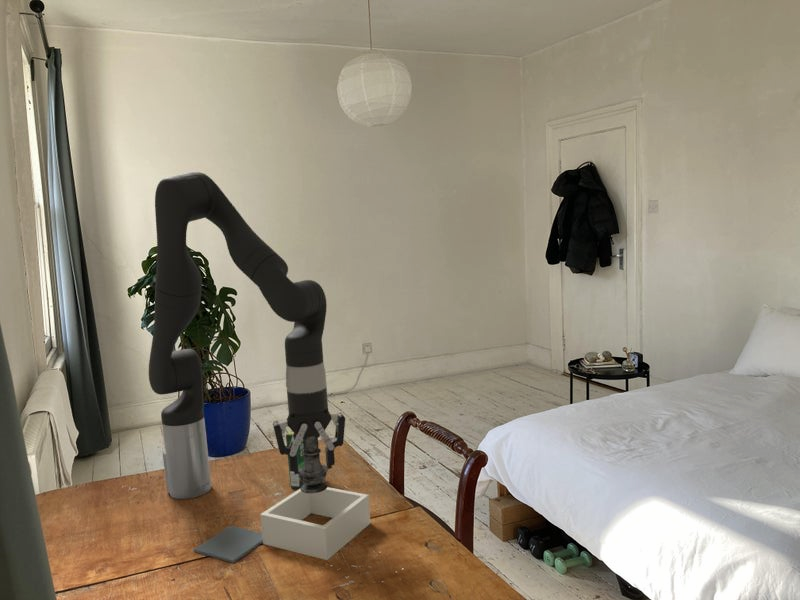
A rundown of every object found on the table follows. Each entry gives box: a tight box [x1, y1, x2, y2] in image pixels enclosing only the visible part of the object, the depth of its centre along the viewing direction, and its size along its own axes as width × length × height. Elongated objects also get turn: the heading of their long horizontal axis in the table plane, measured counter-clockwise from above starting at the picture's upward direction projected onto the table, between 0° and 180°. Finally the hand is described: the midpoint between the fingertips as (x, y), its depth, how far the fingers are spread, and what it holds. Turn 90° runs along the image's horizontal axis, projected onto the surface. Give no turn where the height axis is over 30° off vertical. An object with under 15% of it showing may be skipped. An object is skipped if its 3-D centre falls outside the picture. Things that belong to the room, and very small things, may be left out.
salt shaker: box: [298, 436, 329, 494], centre depth 125 cm, size 6×6×12 cm
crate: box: [260, 486, 371, 561], centre depth 126 cm, size 15×15×6 cm
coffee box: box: [285, 430, 305, 490], centre depth 151 cm, size 8×3×13 cm, turn 159°
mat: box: [193, 525, 263, 564], centre depth 124 cm, size 10×10×1 cm
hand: (312, 469), depth 125 cm, fingers closed on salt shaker, 6 cm apart
